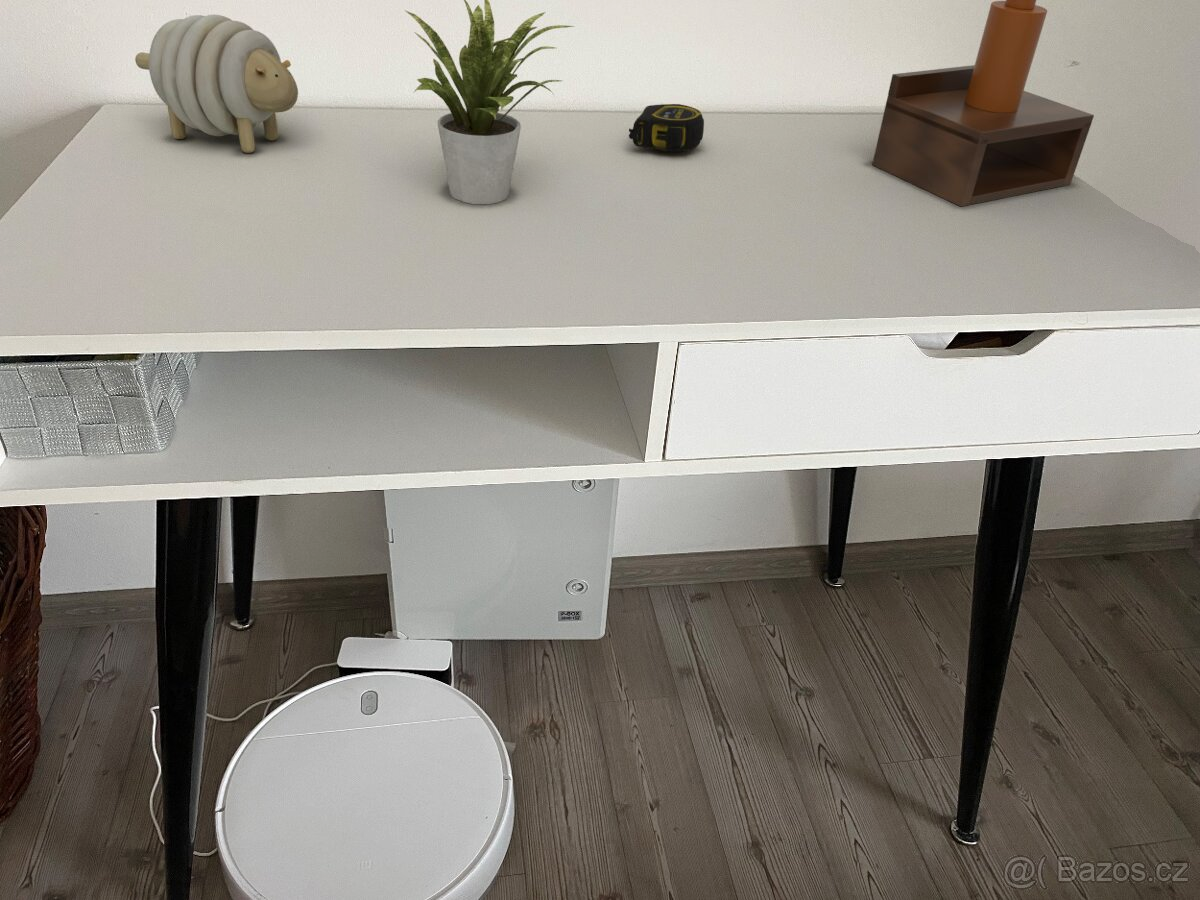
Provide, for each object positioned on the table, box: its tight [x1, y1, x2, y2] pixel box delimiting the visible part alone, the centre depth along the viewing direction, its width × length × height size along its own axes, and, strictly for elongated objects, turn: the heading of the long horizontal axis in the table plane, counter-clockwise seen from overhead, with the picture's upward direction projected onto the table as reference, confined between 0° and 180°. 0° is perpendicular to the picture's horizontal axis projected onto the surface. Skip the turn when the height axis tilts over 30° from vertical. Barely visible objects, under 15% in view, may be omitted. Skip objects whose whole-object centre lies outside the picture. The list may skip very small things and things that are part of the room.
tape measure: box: [628, 103, 705, 152], centre depth 102 cm, size 7×7×4 cm
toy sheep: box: [134, 14, 299, 154], centre depth 94 cm, size 11×17×11 cm, turn 75°
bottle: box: [965, 0, 1048, 113], centre depth 95 cm, size 5×5×12 cm
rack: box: [871, 64, 1095, 207], centre depth 100 cm, size 12×16×9 cm
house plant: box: [405, 0, 576, 205], centre depth 85 cm, size 14×14×16 cm
